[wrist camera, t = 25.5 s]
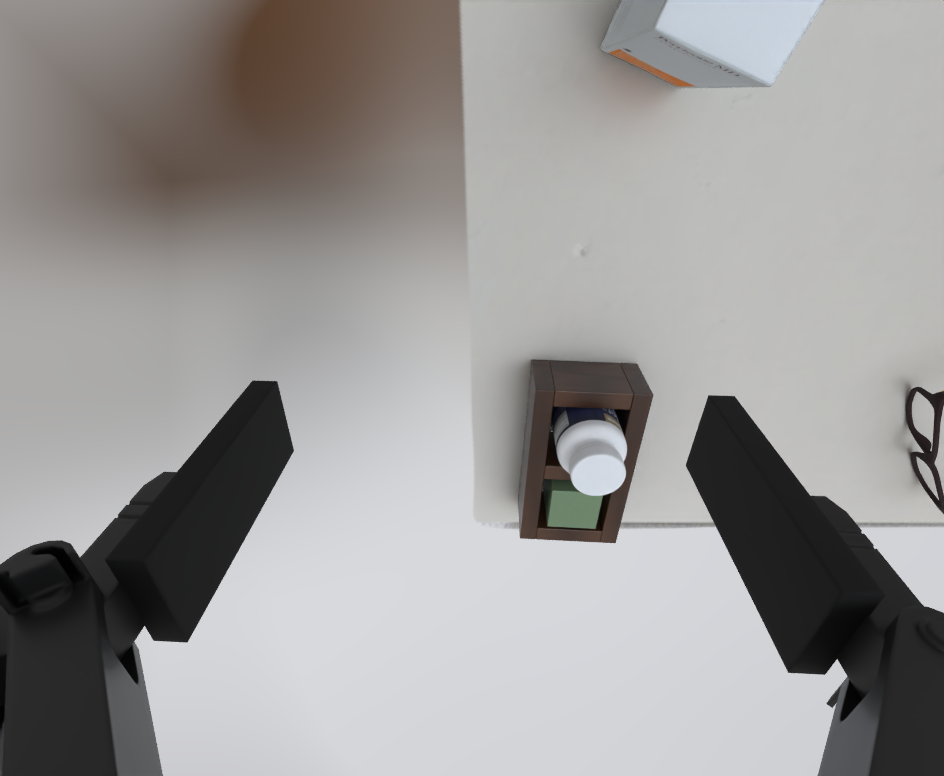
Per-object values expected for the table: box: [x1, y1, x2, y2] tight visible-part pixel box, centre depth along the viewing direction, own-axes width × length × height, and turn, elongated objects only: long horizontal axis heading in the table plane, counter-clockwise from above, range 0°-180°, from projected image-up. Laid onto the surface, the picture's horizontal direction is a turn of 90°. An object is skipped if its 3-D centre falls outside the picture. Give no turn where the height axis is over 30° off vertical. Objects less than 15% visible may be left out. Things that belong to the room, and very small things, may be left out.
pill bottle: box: [551, 406, 627, 496], centre depth 39 cm, size 5×5×10 cm
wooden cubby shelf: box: [518, 360, 653, 543], centre depth 43 cm, size 9×16×5 cm, turn 179°
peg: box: [543, 479, 603, 529], centre depth 45 cm, size 4×4×6 cm
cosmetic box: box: [600, 0, 825, 88], centre depth 24 cm, size 6×4×12 cm
